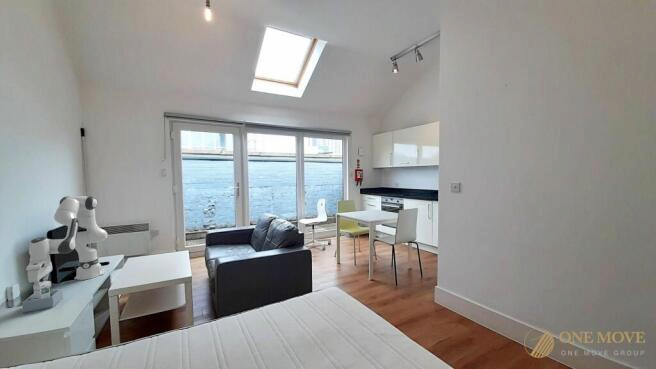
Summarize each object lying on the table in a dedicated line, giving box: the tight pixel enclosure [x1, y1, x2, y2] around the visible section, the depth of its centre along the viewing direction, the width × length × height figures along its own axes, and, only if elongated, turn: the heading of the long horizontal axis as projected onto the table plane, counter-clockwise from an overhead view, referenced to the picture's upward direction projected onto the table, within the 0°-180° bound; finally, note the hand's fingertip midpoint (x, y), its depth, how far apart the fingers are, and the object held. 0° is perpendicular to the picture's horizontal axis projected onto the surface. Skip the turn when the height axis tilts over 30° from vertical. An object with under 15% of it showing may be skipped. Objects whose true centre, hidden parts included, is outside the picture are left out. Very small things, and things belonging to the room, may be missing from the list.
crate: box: [21, 288, 64, 314], centre depth 165 cm, size 14×14×7 cm
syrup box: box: [32, 280, 53, 299], centre depth 165 cm, size 6×6×14 cm
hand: (41, 283), depth 165 cm, fingers open, 8 cm apart
